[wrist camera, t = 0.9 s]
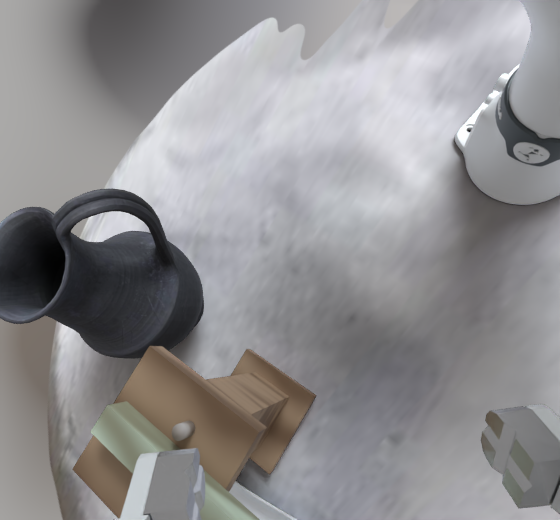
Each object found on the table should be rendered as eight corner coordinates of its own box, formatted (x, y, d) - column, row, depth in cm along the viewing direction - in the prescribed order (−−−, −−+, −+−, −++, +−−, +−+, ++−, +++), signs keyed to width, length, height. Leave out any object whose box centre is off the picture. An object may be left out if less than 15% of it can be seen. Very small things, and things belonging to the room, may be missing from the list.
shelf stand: (249, 349, 56) (138, 345, 31) (316, 395, 52) (252, 436, 26) (208, 418, 55) (57, 474, 30) (272, 471, 51) (162, 590, 25)
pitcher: (119, 291, 65) (-81, 243, 37) (213, 222, 63) (78, 118, 35) (159, 378, 59) (-43, 401, 31) (263, 305, 57) (150, 259, 29)
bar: (126, 401, 31) (107, 405, 29) (316, 570, 25) (310, 591, 22) (111, 426, 31) (90, 431, 29) (298, 603, 24) (289, 628, 22)
